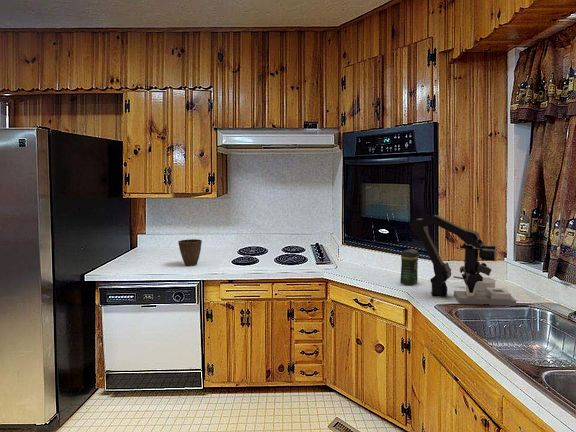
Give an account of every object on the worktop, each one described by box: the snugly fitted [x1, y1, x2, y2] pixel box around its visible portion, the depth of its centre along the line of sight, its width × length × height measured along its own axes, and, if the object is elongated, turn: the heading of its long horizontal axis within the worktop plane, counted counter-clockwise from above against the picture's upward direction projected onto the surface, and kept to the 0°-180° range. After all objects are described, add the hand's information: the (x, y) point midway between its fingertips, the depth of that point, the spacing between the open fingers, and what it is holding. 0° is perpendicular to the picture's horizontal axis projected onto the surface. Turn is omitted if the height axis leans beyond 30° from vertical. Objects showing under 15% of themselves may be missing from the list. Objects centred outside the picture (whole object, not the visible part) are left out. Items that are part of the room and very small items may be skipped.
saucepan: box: [453, 275, 497, 292], centre depth 215 cm, size 12×20×6 cm, turn 58°
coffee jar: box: [399, 248, 419, 286], centre depth 226 cm, size 10×8×19 cm
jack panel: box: [453, 287, 517, 307], centre depth 195 cm, size 24×12×5 cm, turn 79°
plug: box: [465, 284, 475, 296], centre depth 196 cm, size 3×3×8 cm
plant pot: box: [177, 238, 203, 267], centre depth 276 cm, size 15×15×16 cm
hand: (470, 291), depth 196 cm, fingers open, 4 cm apart
